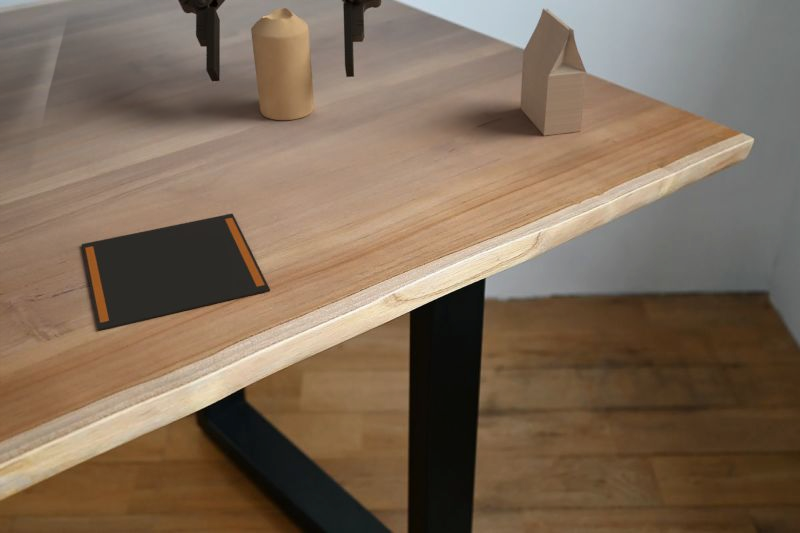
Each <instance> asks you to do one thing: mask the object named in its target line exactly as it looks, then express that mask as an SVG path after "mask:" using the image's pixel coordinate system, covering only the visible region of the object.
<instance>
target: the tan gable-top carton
mask: <svg viewBox="0 0 800 533" xmlns="http://www.w3.org/2000/svg"><path fill="white" fill-rule="evenodd" d="M521 73H522V74H521V88H520V108H519V109H520V110H521V111H522V112H523V113H524V114H525V116H527V118H528V119H529V120H530V121H531V122H532V124H533V125H534V126H535V127H536V129H538V131H539V132H540V134H542V135H543V136H553V135H561V134H562V135H563V134H569V133H577V132H581V131H582V120H583V108H584V99H585V88H586V79H587V71H586V67H585V65H584V63H583V59H582V58H581V55H580V53H579V49H578V47H577V42H576V39H575V30H574V29H573V28H572V27H570V26H569V25H568V24H567V23H565V22H564V21H563V20H562V19H561V18H559V17H558V16H557V15H556V14H554V12H552V11H550V9H548V8H546V9H545V8H542V10H541V13H540V16H539V19H538V21H537V24H536V26H535V28H534V30H533V32H532V34H531V36H530V38H529V40H528V41H527V43H526V46H525V47H524V50H523V53H522V70H521Z"/></svg>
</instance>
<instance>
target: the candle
mask: <svg viewBox="0 0 800 533" xmlns="http://www.w3.org/2000/svg"><path fill="white" fill-rule="evenodd" d="M250 33H251V42H252V50H253V51H252V52H253V58H254V68H255V69H254V70H255V78H256V86H257V94H258V104H259V110H260V113H261V115H262V116H263V117H264V118H267V119H271V120H276V121H291V120H292V121H293V120H298V119H302V118H304V117H307V116H309V115H310V114H311V113H313V111H315V110H314V109H315V97H314V83H313V72H312V71H313V70H312V58H311V56H312V55H311V45H310V31H309V25H308V23H306V22H305V20H303V19H302V18H300V16H297V15H296V14H295V13H293V12H292V11H291V10H290V9H288V8H286V7H283V8H278V9H275V10H273V11H272V12H271V13H269V14H267V15H263V16H262V17H260V18H259V20H257V21H256V22H255V23H254V24H253V26H252V27H251V29H250Z"/></svg>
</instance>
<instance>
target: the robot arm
mask: <svg viewBox="0 0 800 533" xmlns="http://www.w3.org/2000/svg"><path fill="white" fill-rule="evenodd" d="M177 1H178V3H179V5H180V7H181V9H182V11H183V12H184V13H185V14H194V15H195V37H196V39H197V41H198V44H199V45H200V47H204V48H205V47H206V50H205V52H206V53H205V54H206V55H205V58H206V61H205V65H206V66H205V68H206V69H205V71H206V72H207V74H208V76H209V79H210V80H211V82H220V79H221V78H220V77H221V76H220V72H221V69H220V67H221V65H220V64H221V57H220V56H221V55H220V53H221V52H220V51H221V46H220V45H221V40H220V39H221V19H220V17H219V15H218V11H217V10H219V8H220V7H221V6H222V5H223V4H224V3H225V1H226V0H177ZM341 2H343V4H342V5H343V6H342V7H343V9H342V10H343V41H344V44H343V45H344V70H345V76H346V78H354V77H355V65H354V64H355V62H354V61H355V60H354V58H355V57H354V43H362V42H364V39H365V12H366V11H367V10H368V9H371V8H373V9H377V8H379V7H380V6H381V5H382V0H341Z"/></svg>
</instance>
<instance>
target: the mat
mask: <svg viewBox="0 0 800 533" xmlns="http://www.w3.org/2000/svg"><path fill="white" fill-rule="evenodd" d="M81 247H82V253H83V258H84V263H85V268H86V273H87V278H88V283H89V284H88V285H89V289H90V293H91V294H90V295H91V300H92V305H93V310H94V314H95V320H96V325H97V329H98V330H97V331H98V332H100V331H103V330H108V329H112V328H116V327H122V326H125V325H129V324H135V323H138V321H139V322H143V321H147V320H151V318H152V319H156V318H160V317H164V316H169V315H172V314H176V313H181V312H186V311H190V310H194V309H199V308H202V307H203V308H204V307H207V306H211V305H215V304H220V303H225V302H229V301H232V300H238V299H242V298H247V297H250V296H255V295H259V294H262V293H263V294H264V293H267V292H270V291H271V289H270V287H269V283H268V282H267V280H266V277H264V273H263V272H262V270H261V267H260V266H259V263H258V262H257V261H256V258H255V256H254V254H253V252H252V250H251V248H250V245H249V244H248V242H247V240H246V238H245V236H244V233H243V231H242V230H241V228H240V224H239V223H238V222H237V219H236V217H235V216H234V213H228V214H223V215H218V216H212V217H209V218H203V219H198V220H193V221H189V222H184V223H183V222H182V223H179V224H173V225H169V226H164V227H159V228H154V229H148V230H144V231H139V232H135V233H130V234H125V235H119V236H115V237H110V238H105V239H100V240H95V241H90V242H85V243H81ZM159 316H160V317H159ZM146 319H147V320H146ZM142 320H143V321H142Z"/></svg>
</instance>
